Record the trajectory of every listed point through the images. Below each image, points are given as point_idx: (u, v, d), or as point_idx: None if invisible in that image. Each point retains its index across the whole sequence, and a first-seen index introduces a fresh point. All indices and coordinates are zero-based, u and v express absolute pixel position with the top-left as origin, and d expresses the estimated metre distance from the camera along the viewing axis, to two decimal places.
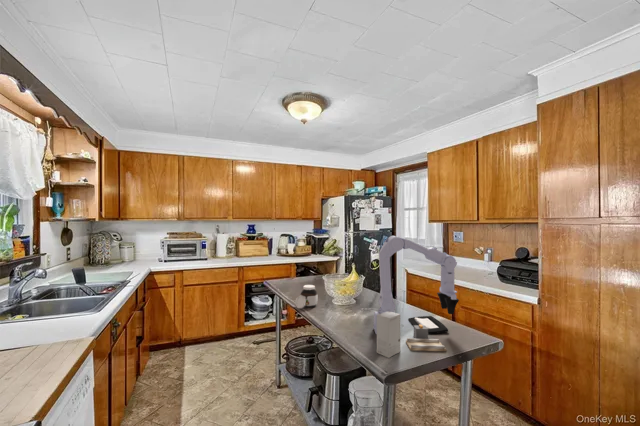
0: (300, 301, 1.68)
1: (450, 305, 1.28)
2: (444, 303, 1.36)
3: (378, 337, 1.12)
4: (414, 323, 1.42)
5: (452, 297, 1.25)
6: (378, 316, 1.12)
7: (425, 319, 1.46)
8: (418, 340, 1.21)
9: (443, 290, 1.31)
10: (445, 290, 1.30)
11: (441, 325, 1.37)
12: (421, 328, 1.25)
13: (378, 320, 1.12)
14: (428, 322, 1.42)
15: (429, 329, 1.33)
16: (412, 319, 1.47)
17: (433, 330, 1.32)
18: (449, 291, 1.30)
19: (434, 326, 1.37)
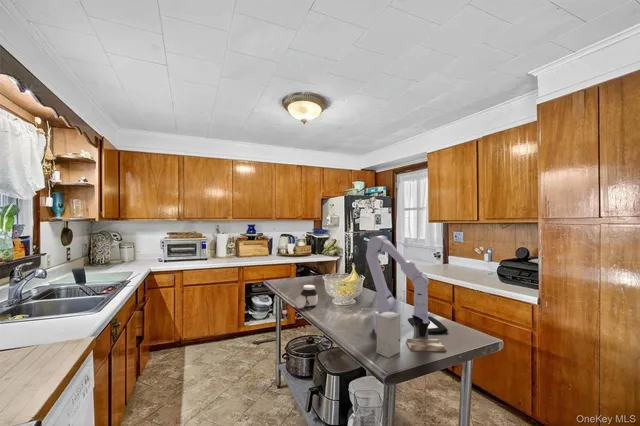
0: (300, 301, 1.68)
1: (421, 327, 1.23)
2: None
3: (378, 337, 1.12)
4: (414, 323, 1.42)
5: (424, 321, 1.19)
6: (378, 316, 1.12)
7: None
8: (418, 340, 1.21)
9: (416, 312, 1.25)
10: (418, 312, 1.24)
11: (440, 325, 1.37)
12: None
13: (378, 320, 1.12)
14: None
15: (428, 329, 1.33)
16: (412, 319, 1.47)
17: (432, 330, 1.32)
18: (422, 313, 1.24)
19: (433, 326, 1.37)
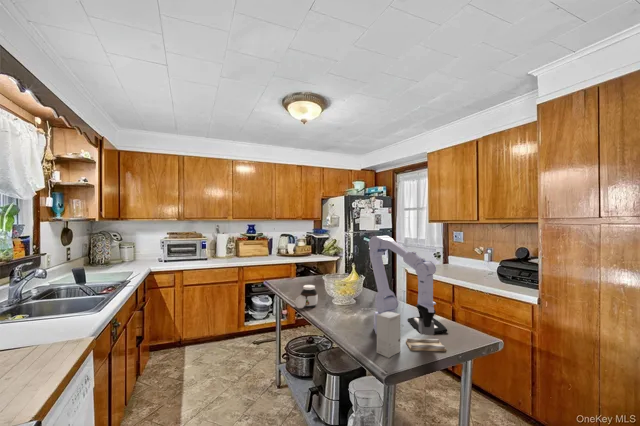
0: (300, 301, 1.68)
1: (426, 317, 1.16)
2: None
3: (378, 337, 1.12)
4: (413, 323, 1.42)
5: (429, 310, 1.11)
6: (378, 316, 1.12)
7: None
8: (418, 340, 1.21)
9: (420, 301, 1.17)
10: (422, 301, 1.16)
11: (440, 325, 1.36)
12: None
13: (378, 320, 1.12)
14: None
15: None
16: (411, 319, 1.47)
17: None
18: (427, 303, 1.16)
19: None
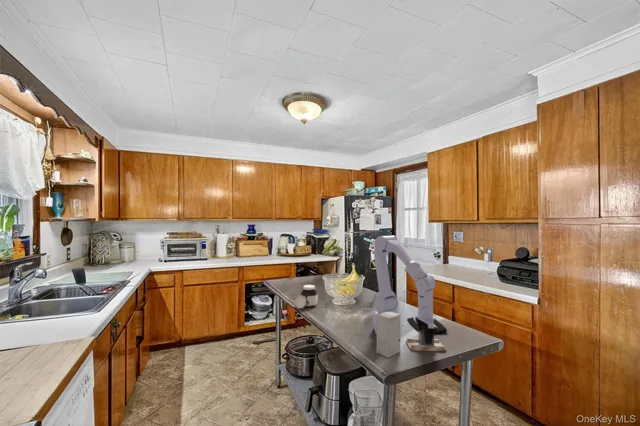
0: (300, 301, 1.68)
1: (427, 334, 1.14)
2: None
3: (378, 337, 1.12)
4: (413, 323, 1.42)
5: (429, 325, 1.11)
6: (378, 316, 1.12)
7: None
8: (418, 340, 1.21)
9: (420, 316, 1.17)
10: (422, 316, 1.16)
11: (440, 325, 1.36)
12: None
13: (378, 320, 1.12)
14: None
15: None
16: (411, 319, 1.47)
17: None
18: (427, 318, 1.16)
19: None
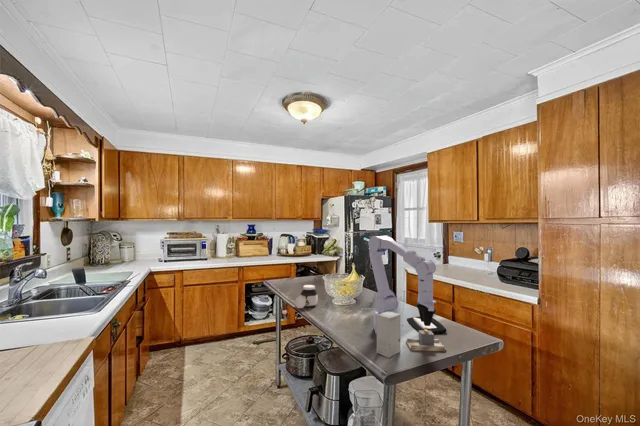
0: (300, 301, 1.68)
1: (426, 316, 1.16)
2: None
3: (378, 337, 1.12)
4: (413, 323, 1.42)
5: (429, 308, 1.11)
6: (378, 316, 1.12)
7: None
8: (418, 340, 1.21)
9: (420, 300, 1.17)
10: (422, 300, 1.16)
11: (439, 325, 1.36)
12: (427, 333, 1.17)
13: (378, 320, 1.12)
14: None
15: (427, 329, 1.33)
16: (411, 319, 1.47)
17: (431, 330, 1.32)
18: (427, 301, 1.16)
19: (432, 326, 1.37)
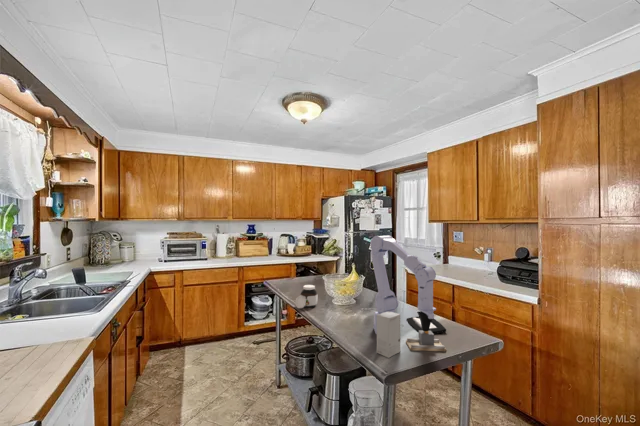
0: (300, 301, 1.68)
1: (425, 321, 1.18)
2: None
3: (378, 337, 1.12)
4: (412, 323, 1.42)
5: (429, 316, 1.11)
6: (378, 316, 1.12)
7: None
8: (418, 340, 1.21)
9: (420, 307, 1.17)
10: (422, 307, 1.16)
11: (439, 325, 1.36)
12: (427, 333, 1.17)
13: (378, 320, 1.12)
14: None
15: None
16: (410, 319, 1.47)
17: (431, 330, 1.32)
18: (427, 308, 1.16)
19: (432, 326, 1.37)
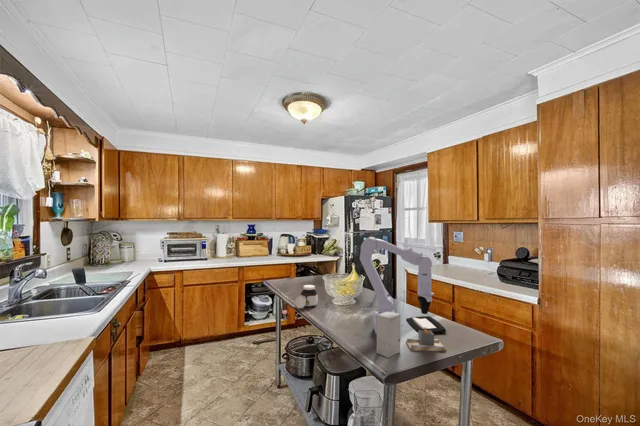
0: (300, 301, 1.68)
1: (424, 305, 1.28)
2: None
3: (378, 337, 1.12)
4: (412, 323, 1.42)
5: (428, 299, 1.22)
6: (378, 316, 1.12)
7: (423, 319, 1.46)
8: (418, 340, 1.21)
9: (420, 292, 1.28)
10: (422, 292, 1.27)
11: (439, 325, 1.36)
12: (427, 333, 1.17)
13: (378, 320, 1.12)
14: (426, 322, 1.42)
15: (427, 329, 1.33)
16: (410, 319, 1.47)
17: (431, 330, 1.32)
18: (426, 293, 1.26)
19: (432, 326, 1.37)
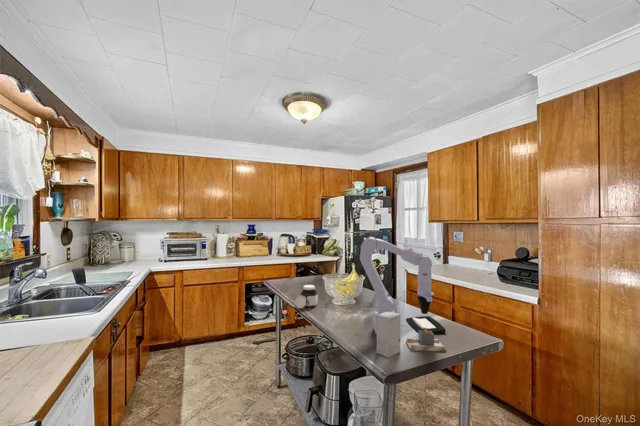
0: (300, 301, 1.68)
1: (424, 305, 1.28)
2: None
3: (378, 337, 1.12)
4: (412, 323, 1.42)
5: (428, 299, 1.22)
6: (378, 316, 1.12)
7: (423, 319, 1.46)
8: (418, 340, 1.21)
9: (420, 292, 1.28)
10: (422, 292, 1.27)
11: (439, 325, 1.36)
12: (427, 333, 1.17)
13: (378, 320, 1.12)
14: (426, 322, 1.42)
15: (426, 329, 1.33)
16: (410, 319, 1.47)
17: (430, 330, 1.32)
18: (426, 293, 1.27)
19: (432, 326, 1.37)
